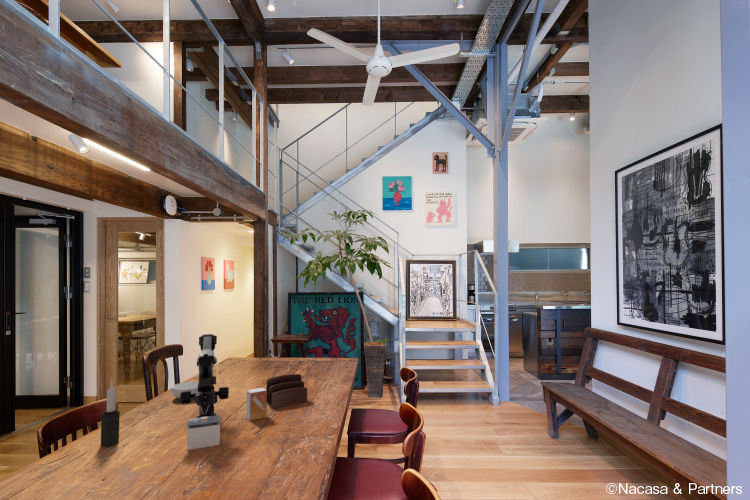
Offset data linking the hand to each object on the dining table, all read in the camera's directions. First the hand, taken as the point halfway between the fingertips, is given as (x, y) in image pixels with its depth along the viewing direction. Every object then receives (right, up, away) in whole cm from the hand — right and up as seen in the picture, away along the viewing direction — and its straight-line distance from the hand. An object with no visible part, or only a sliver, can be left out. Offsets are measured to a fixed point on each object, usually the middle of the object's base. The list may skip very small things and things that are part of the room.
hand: (204, 414), depth 160 cm
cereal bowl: (-37, -17, +63) cm, 74 cm away
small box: (+12, -14, +30) cm, 35 cm away
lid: (0, -3, +1) cm, 3 cm away
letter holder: (+22, -16, +51) cm, 58 cm away
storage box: (0, -12, 0) cm, 12 cm away
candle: (-39, -13, +1) cm, 41 cm away
